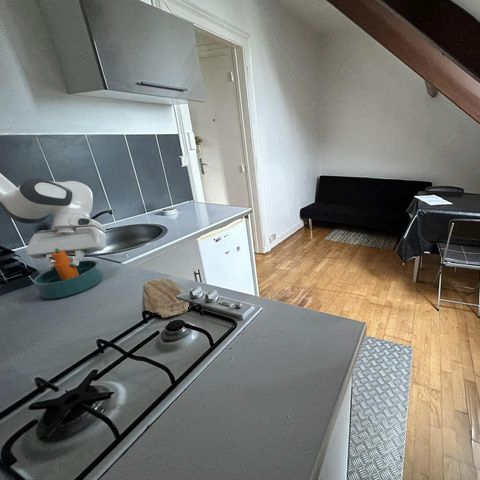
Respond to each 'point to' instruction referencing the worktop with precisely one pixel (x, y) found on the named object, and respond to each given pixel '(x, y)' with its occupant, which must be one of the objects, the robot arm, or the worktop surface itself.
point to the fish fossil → (164, 298)
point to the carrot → (64, 265)
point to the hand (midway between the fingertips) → (63, 267)
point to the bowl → (68, 280)
